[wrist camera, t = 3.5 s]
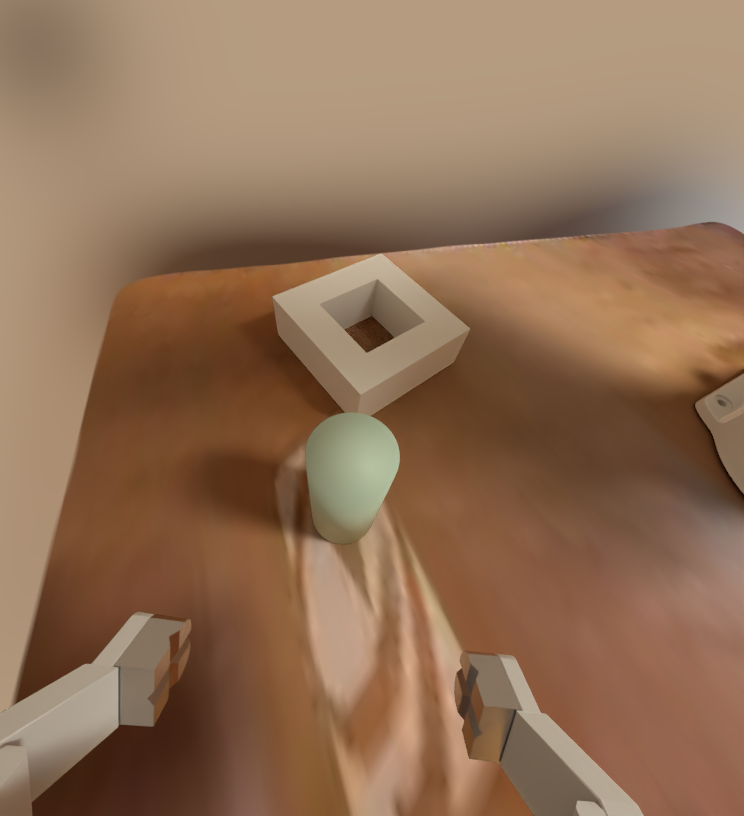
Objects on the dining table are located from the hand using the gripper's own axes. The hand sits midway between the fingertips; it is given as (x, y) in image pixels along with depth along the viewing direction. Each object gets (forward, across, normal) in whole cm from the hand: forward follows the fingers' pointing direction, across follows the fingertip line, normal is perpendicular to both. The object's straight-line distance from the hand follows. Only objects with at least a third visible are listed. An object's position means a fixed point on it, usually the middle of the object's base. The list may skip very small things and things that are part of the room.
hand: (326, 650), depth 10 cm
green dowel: (+14, 0, +3) cm, 14 cm away
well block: (+25, 0, -8) cm, 26 cm away
